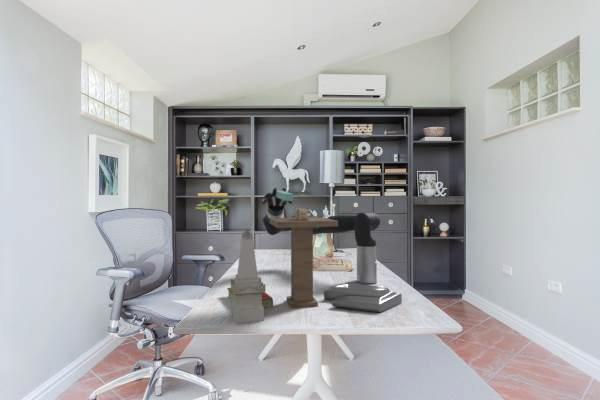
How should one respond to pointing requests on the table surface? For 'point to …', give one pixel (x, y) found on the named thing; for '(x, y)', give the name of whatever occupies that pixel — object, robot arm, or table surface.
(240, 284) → the miniature monument
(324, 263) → the mottled tan slab
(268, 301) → the hardcover book
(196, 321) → the table surface
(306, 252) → the shelf stand
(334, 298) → the striped bevelled slab
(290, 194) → the slat
